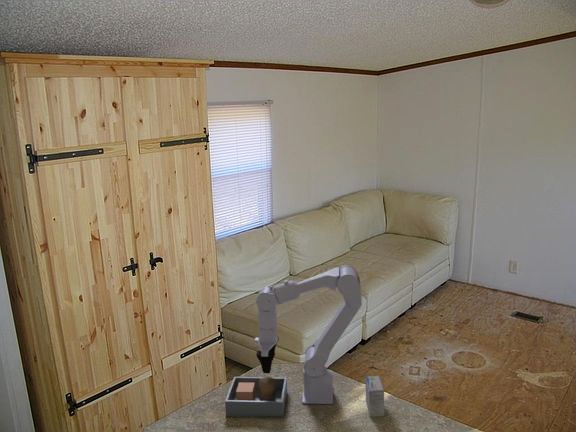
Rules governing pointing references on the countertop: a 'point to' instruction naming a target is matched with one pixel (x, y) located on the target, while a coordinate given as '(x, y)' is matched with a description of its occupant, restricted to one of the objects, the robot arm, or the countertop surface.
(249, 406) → the slate tote
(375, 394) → the medicine box
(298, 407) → the countertop surface
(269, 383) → the walnut cylinder
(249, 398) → the terracotta cube
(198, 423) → the countertop surface
